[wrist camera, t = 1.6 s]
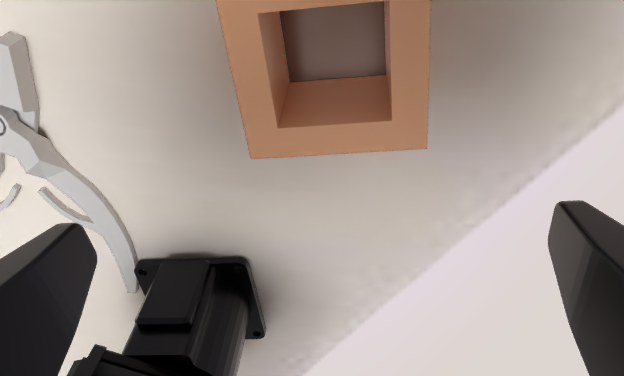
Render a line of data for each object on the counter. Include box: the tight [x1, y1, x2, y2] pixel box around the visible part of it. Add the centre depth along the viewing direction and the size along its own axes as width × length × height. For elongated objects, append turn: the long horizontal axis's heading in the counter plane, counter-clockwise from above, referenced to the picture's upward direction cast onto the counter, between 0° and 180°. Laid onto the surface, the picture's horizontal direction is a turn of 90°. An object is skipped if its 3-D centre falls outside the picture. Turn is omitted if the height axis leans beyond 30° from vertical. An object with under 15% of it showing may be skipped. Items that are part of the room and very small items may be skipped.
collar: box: [216, 0, 431, 159], centre depth 17 cm, size 6×6×4 cm
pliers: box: [0, 32, 138, 293], centre depth 24 cm, size 10×2×15 cm
